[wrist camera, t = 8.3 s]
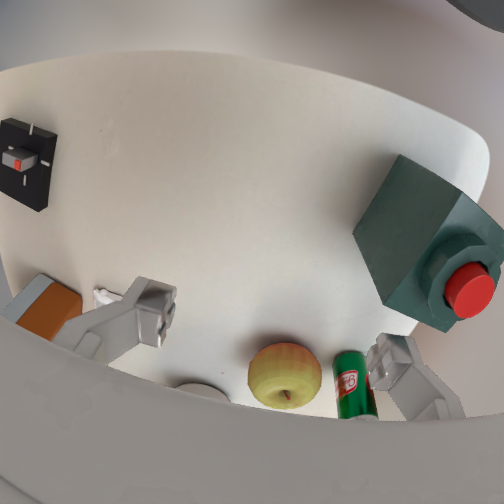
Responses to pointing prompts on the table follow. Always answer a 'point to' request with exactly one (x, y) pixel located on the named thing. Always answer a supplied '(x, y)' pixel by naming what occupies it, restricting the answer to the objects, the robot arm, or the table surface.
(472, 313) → the button
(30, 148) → the black flat square piece
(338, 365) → the soda can
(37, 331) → the alarm clock
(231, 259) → the table surface
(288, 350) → the apple
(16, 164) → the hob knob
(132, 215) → the table surface
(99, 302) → the toy car
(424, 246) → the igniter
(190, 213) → the table surface
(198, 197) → the table surface
